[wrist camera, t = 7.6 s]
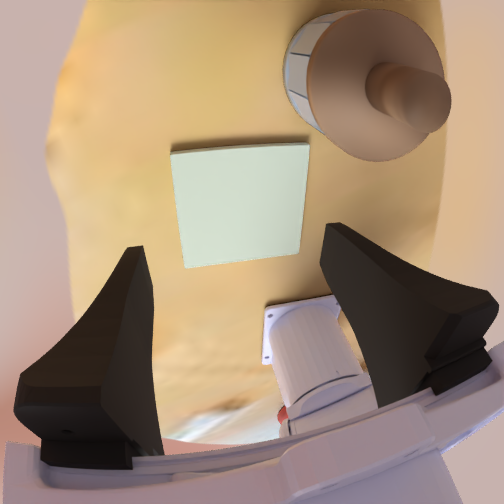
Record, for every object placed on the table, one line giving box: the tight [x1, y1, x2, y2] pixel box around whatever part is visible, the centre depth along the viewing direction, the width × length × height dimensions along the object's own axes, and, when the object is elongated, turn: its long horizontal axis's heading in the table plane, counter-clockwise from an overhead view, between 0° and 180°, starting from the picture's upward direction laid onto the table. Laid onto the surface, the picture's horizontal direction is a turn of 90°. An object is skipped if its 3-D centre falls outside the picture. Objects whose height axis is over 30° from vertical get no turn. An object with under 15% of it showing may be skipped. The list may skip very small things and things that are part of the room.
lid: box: [306, 10, 451, 162], centre depth 13 cm, size 9×9×4 cm
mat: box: [170, 142, 310, 268], centre depth 22 cm, size 9×9×1 cm
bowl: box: [283, 9, 369, 135], centre depth 16 cm, size 9×9×4 cm
